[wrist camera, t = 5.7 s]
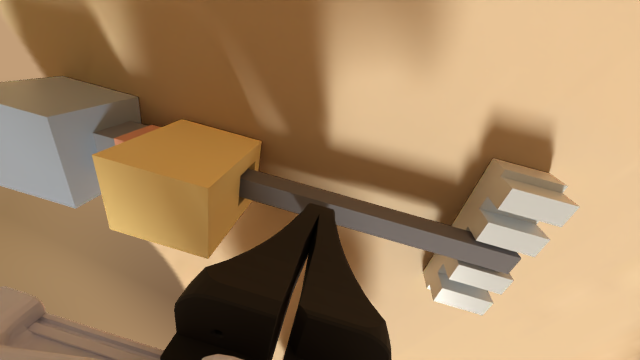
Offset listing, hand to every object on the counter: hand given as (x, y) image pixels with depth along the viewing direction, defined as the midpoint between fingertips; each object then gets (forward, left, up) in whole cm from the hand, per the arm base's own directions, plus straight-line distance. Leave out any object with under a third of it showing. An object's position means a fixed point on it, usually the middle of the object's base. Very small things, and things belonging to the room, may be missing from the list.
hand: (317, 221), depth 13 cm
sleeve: (0, +7, -3) cm, 8 cm away
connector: (0, +15, -3) cm, 15 cm away
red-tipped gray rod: (0, +1, -3) cm, 3 cm away
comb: (0, -9, -3) cm, 10 cm away
